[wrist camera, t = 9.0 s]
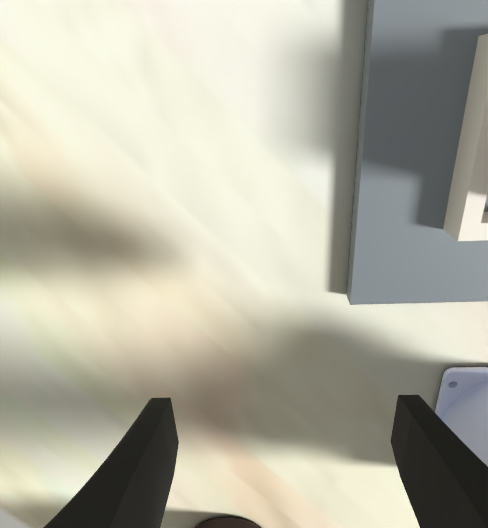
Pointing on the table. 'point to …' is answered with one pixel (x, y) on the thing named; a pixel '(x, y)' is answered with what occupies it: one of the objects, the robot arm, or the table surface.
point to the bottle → (227, 523)
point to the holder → (422, 155)
